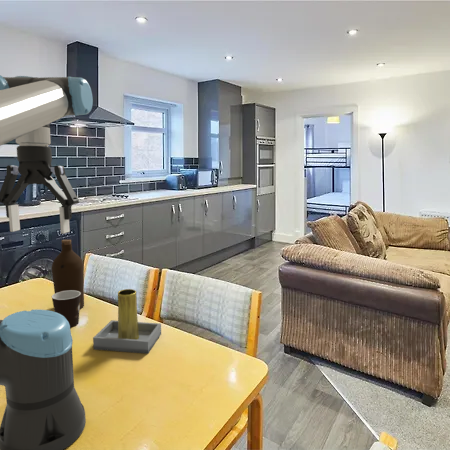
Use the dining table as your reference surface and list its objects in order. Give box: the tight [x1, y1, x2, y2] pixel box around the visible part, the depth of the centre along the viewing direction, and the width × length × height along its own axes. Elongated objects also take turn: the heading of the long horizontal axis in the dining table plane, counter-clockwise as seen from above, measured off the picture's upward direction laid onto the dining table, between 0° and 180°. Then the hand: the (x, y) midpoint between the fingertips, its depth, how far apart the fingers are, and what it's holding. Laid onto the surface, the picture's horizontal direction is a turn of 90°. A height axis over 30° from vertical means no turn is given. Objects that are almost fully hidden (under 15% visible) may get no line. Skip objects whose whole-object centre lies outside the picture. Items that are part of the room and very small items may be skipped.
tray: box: [92, 319, 162, 355], centre depth 109 cm, size 12×16×4 cm
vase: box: [117, 288, 139, 340], centre depth 108 cm, size 6×6×14 cm
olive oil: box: [51, 238, 85, 310], centre depth 133 cm, size 11×11×25 cm
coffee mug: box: [51, 290, 81, 329], centre depth 121 cm, size 12×9×10 cm
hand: (40, 231), depth 93 cm, fingers open, 13 cm apart
